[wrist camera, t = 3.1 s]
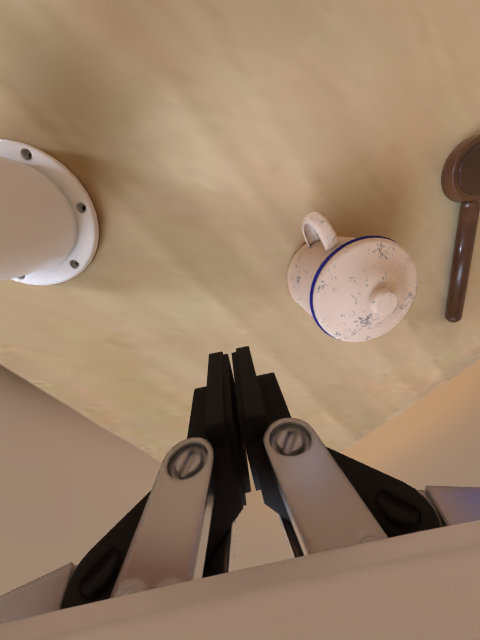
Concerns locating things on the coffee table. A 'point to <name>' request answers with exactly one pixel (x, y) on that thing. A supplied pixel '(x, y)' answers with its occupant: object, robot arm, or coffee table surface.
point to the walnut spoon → (462, 217)
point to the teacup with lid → (351, 281)
